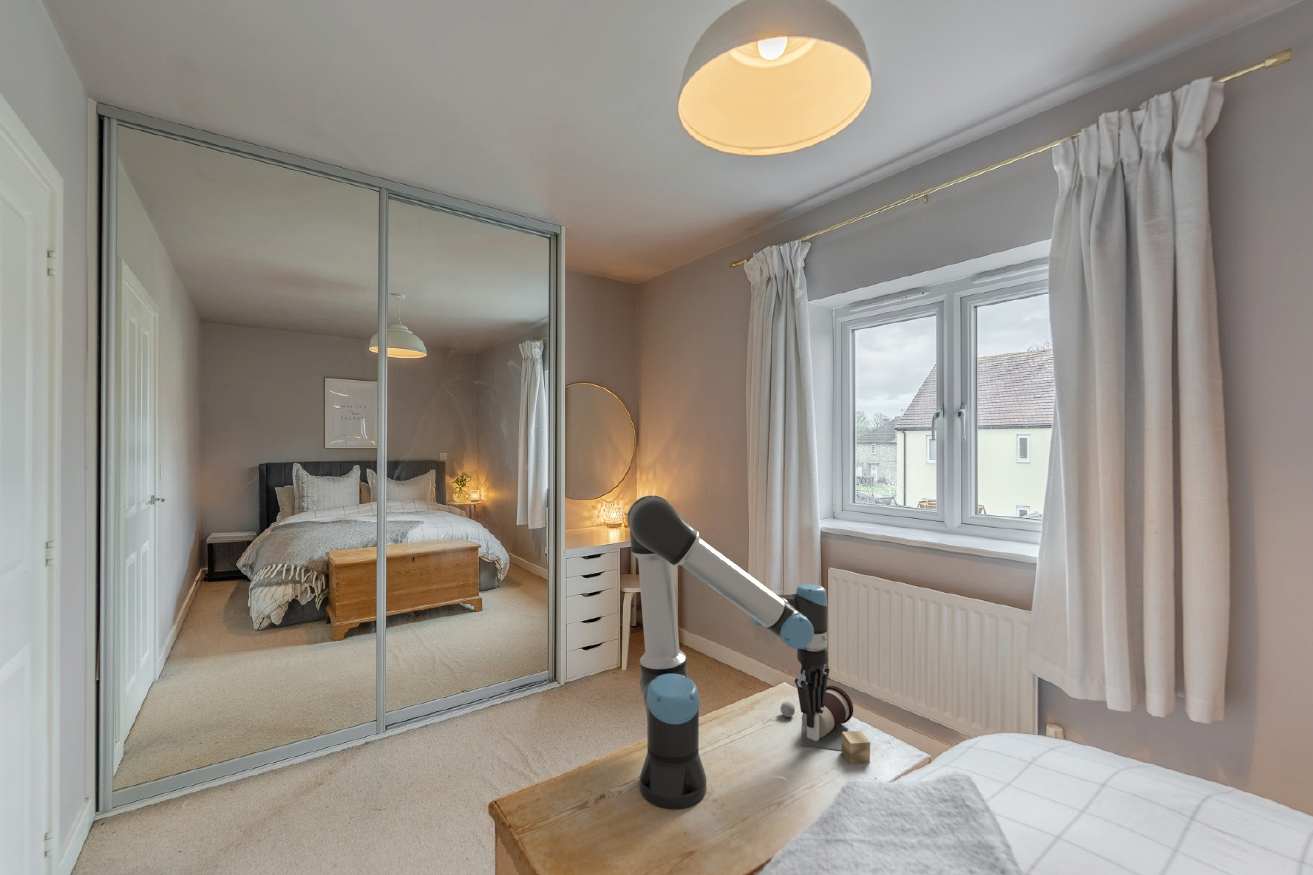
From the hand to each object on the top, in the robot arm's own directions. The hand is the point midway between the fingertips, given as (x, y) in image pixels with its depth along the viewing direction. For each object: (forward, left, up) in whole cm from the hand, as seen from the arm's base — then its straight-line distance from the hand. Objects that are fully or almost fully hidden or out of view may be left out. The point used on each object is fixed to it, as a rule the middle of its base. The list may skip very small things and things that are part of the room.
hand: (813, 738), depth 146 cm
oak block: (+10, -2, -2) cm, 11 cm away
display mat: (+3, +6, -2) cm, 7 cm away
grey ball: (-7, +15, -2) cm, 16 cm away
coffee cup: (0, +3, +2) cm, 4 cm away
